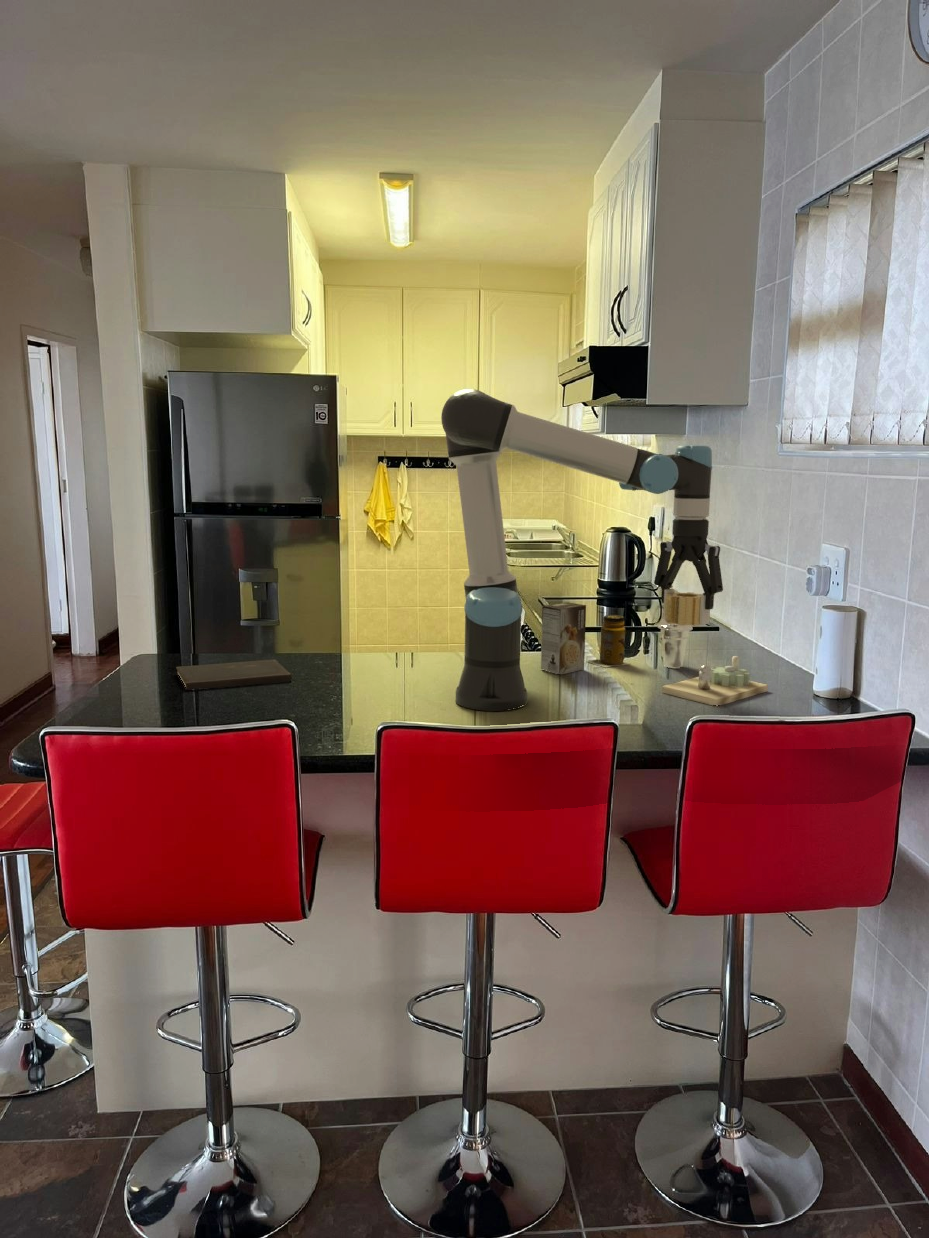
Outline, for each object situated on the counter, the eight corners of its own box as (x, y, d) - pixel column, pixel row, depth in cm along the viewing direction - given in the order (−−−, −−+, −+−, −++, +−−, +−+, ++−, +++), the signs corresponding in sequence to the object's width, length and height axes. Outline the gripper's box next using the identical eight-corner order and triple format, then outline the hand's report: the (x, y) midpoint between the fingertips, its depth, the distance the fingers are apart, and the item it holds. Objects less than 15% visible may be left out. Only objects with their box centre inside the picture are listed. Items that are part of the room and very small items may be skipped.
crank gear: (734, 688, 198) (736, 664, 197) (701, 680, 205) (702, 657, 204) (756, 682, 204) (757, 659, 203) (722, 675, 210) (724, 652, 209)
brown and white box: (565, 665, 224) (567, 601, 221) (584, 669, 220) (587, 605, 217) (539, 670, 218) (541, 605, 215) (559, 675, 214) (561, 608, 211)
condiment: (630, 664, 227) (633, 617, 224) (605, 668, 222) (608, 620, 220) (611, 658, 233) (613, 612, 230) (586, 662, 228) (588, 615, 226)
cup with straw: (688, 671, 220) (694, 590, 216) (651, 668, 222) (655, 588, 219) (691, 664, 228) (696, 585, 224) (655, 660, 230) (659, 583, 227)
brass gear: (691, 627, 193) (692, 599, 192) (657, 621, 199) (658, 594, 198) (713, 622, 198) (715, 595, 197) (680, 617, 205) (681, 591, 204)
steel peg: (705, 690, 196) (707, 667, 195) (695, 688, 198) (697, 664, 197) (712, 688, 198) (714, 665, 197) (702, 686, 200) (704, 663, 199)
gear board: (716, 706, 189) (717, 699, 189) (662, 692, 200) (662, 686, 199) (767, 691, 202) (767, 684, 202) (713, 678, 213) (713, 672, 212)
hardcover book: (176, 676, 209) (176, 666, 208) (275, 668, 218) (275, 659, 218) (186, 693, 194) (185, 683, 194) (291, 684, 204) (291, 674, 203)
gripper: (744, 520, 189) (738, 625, 193) (659, 514, 205) (655, 612, 209) (725, 521, 184) (719, 630, 188) (639, 516, 200) (635, 616, 204)
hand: (685, 620), depth 199 cm, fingers closed on brass gear, 9 cm apart
